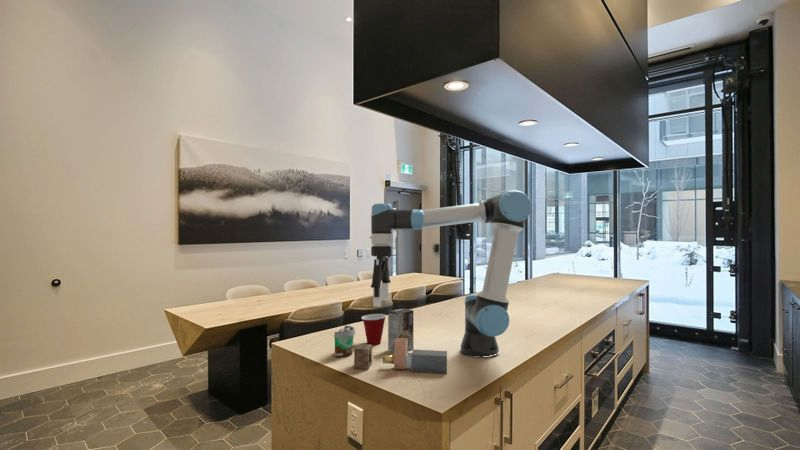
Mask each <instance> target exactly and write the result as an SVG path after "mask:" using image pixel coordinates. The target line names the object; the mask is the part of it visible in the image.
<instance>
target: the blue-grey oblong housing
mask: <svg viewBox="0 0 800 450" xmlns="http://www.w3.org/2000/svg"><path fill="white" fill-rule="evenodd" d="M411 353H412V358H411V368H410V369H411V370H410V371H411V373H419V374H436V375H437V374H438V375H447V374H448V350H434V349H433V350H432V349H431V350H430V349H412V352H411Z"/></svg>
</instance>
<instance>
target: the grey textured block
mask: <svg viewBox="0 0 800 450" xmlns="http://www.w3.org/2000/svg"><path fill="white" fill-rule="evenodd" d="M353 349H354V351H353V352H354V353H353V354H354V356H353V357H354V358H353V361H354V363H353V369H354V370H361V369H365V370H366V371H369V369H370V368H371V366H372V365H373V363H372V362H373V361H372V360H373V345H369V344H365V343H364V344H362V343H358V344H357V345H356V346H355V347H354V348H353Z"/></svg>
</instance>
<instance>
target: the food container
mask: <svg viewBox="0 0 800 450" xmlns="http://www.w3.org/2000/svg"><path fill="white" fill-rule="evenodd" d="M355 335H356V330H355V327H354V326H351V325H344V327H343V328H341V329H339V330H338V331H334V333H333V338H334V358H335V357H336V358H335V359H337V358H338V359H339V358H341V359H342V358H347V357H351V356H352V355H353V349H354V348H353V347H354V336H355Z"/></svg>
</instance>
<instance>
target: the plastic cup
mask: <svg viewBox="0 0 800 450" xmlns="http://www.w3.org/2000/svg"><path fill="white" fill-rule="evenodd" d="M386 317H387V314H383V313H372V314H367V315H362V316H361V319H362V322H363V326H364V327H363V328H364V332H365V338H366V343H367V345H372V346H377V345H381V343H382V337H383V332H384V326H385V320H386Z"/></svg>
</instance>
